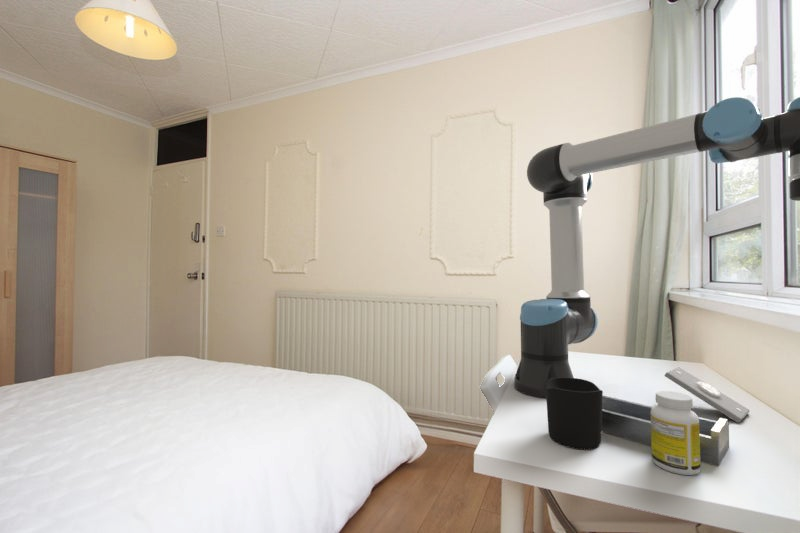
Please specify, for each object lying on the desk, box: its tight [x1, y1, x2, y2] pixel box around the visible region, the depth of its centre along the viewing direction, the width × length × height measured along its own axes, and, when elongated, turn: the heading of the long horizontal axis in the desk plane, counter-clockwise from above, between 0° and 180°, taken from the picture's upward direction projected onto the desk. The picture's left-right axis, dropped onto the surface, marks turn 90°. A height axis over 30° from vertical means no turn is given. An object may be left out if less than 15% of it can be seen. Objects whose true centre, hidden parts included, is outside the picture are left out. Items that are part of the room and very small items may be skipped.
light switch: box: [664, 367, 750, 424], centre depth 83 cm, size 8×6×14 cm
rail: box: [601, 395, 730, 467], centre depth 69 cm, size 21×10×5 cm, turn 41°
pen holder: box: [545, 377, 604, 450], centre depth 68 cm, size 9×9×10 cm
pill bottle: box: [650, 390, 702, 476], centre depth 58 cm, size 6×6×11 cm
